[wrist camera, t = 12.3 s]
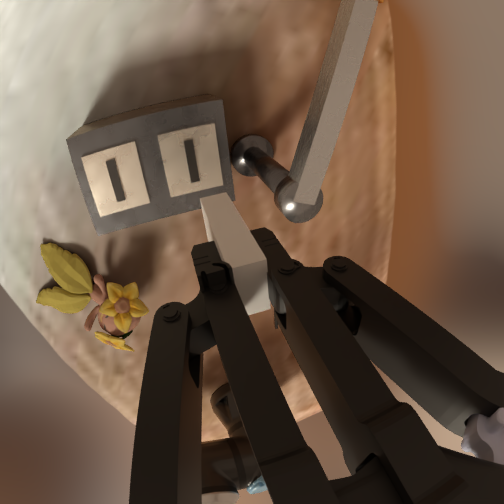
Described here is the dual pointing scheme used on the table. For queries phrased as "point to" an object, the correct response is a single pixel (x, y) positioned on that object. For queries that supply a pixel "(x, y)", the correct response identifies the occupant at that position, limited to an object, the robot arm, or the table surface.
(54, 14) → the table surface
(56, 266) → the figurine
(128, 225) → the block
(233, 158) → the post
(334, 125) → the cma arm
